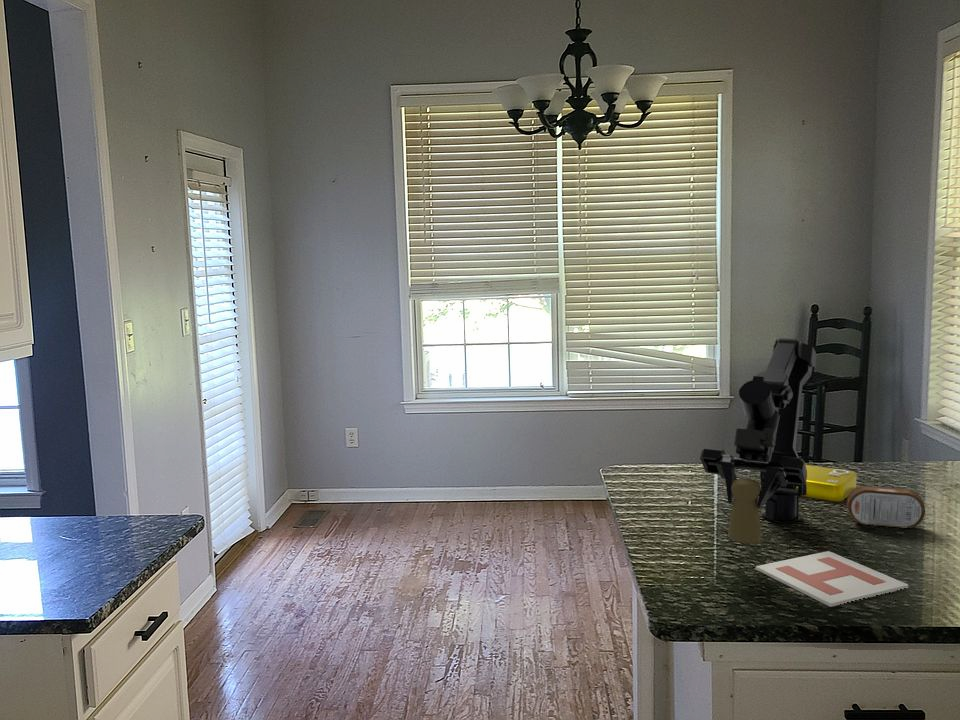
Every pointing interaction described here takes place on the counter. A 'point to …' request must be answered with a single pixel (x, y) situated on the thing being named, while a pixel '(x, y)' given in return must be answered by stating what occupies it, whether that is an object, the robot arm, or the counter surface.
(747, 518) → the cork
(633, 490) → the counter surface
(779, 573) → the letter board
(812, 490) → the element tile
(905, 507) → the tin
